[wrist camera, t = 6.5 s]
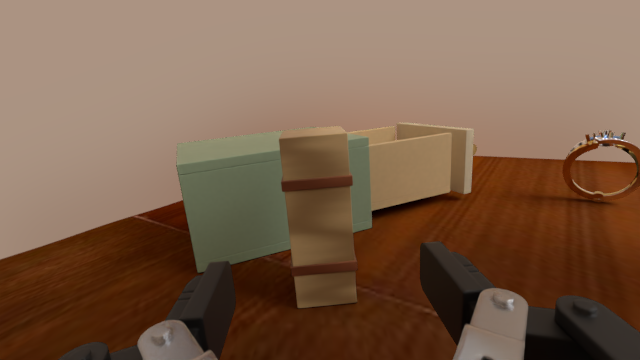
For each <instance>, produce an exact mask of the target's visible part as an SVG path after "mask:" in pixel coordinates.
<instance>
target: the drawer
mask: <svg viewBox="0 0 640 360" xmlns="http://www.w3.org/2000/svg"><path fill="white" fill-rule="evenodd" d="M348 133H349V134H355V135H360V136H366V137H369V160H370V186H371V211H373V210H377V209H381V208H386V207H390V206H394V205H398V204H402V203H406V202H411V201H415V200H419V199H423V198H427V197H431V196H436V195H440V194H444V193H448V192H450V190H453V191H456V192H459V193H462V194H467V193H471V181H472V160H473V155H474V154H475V153H476V150H477V147H476V145H474V144H473V139H474V129H469V128H468V129H467V128H458V127H447V126H436V125H424V124H414V123H397V140H396V141H395V127H393V126H392V127H384V128H376V129H370V130H362V131H355V132H348Z"/></svg>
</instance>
